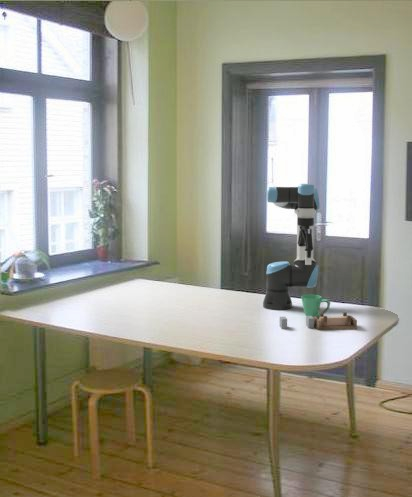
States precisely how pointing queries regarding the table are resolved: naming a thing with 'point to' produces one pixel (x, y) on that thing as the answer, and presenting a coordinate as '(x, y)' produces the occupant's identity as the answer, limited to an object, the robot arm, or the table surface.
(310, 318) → the grey blocks
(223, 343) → the table surface
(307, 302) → the mug
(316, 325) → the rack
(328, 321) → the clay strip
